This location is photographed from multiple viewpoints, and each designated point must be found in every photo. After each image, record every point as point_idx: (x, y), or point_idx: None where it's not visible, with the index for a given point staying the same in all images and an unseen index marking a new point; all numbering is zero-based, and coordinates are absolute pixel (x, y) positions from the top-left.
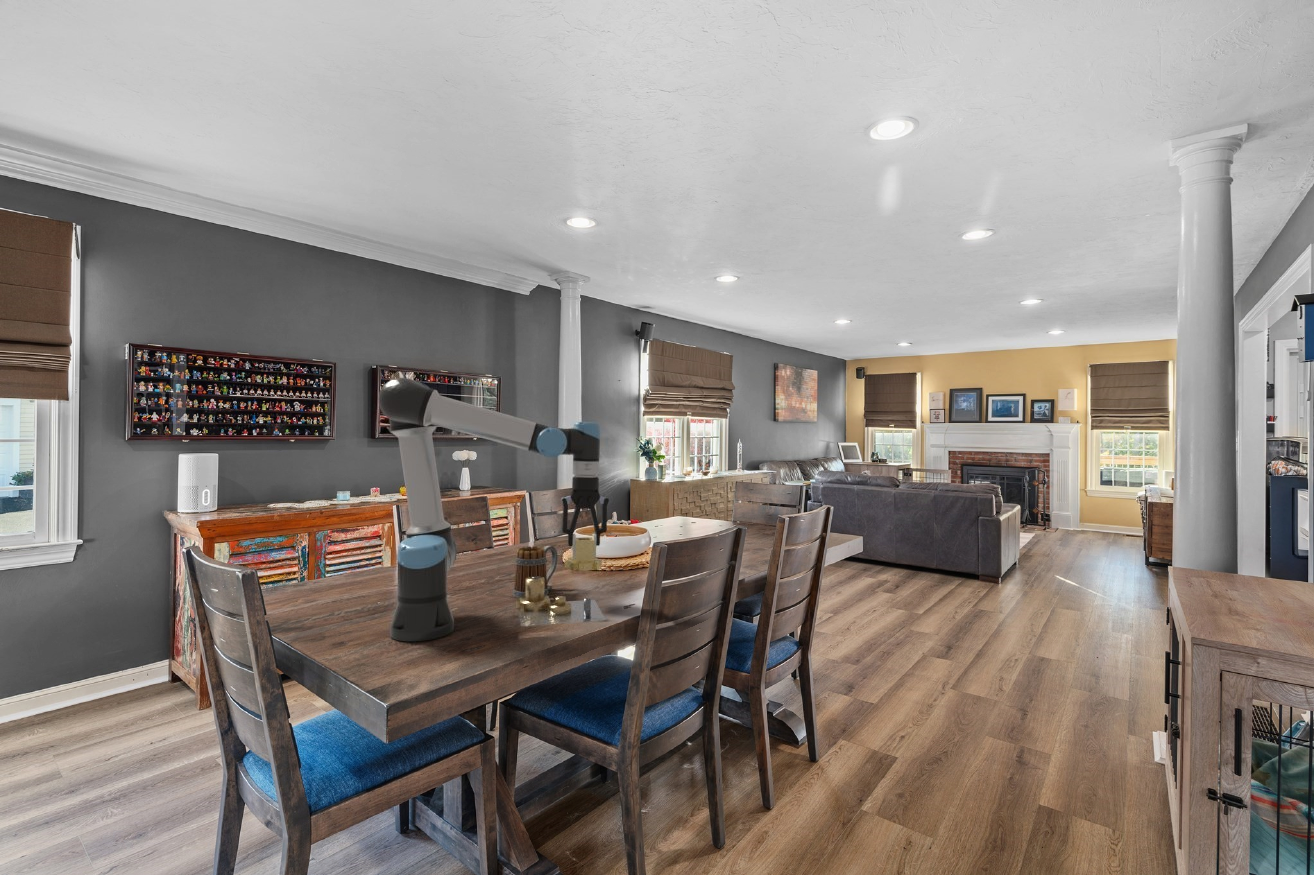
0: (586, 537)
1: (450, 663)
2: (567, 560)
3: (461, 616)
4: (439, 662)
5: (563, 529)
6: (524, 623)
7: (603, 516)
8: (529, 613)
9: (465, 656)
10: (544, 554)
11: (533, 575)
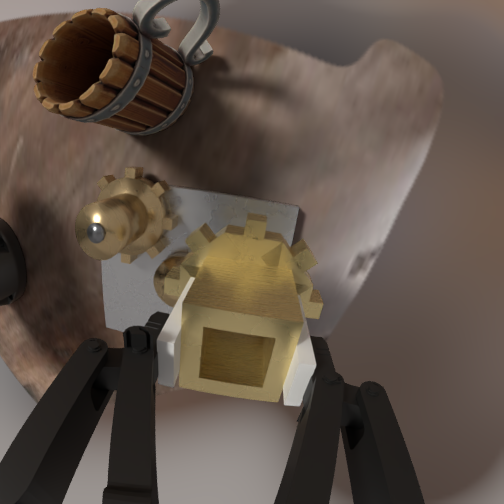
0: (266, 320)
1: (55, 376)
2: (173, 290)
3: (26, 197)
4: (45, 368)
5: (91, 389)
6: (111, 316)
7: (359, 497)
8: (119, 261)
9: (62, 368)
10: (123, 77)
11: (113, 125)
